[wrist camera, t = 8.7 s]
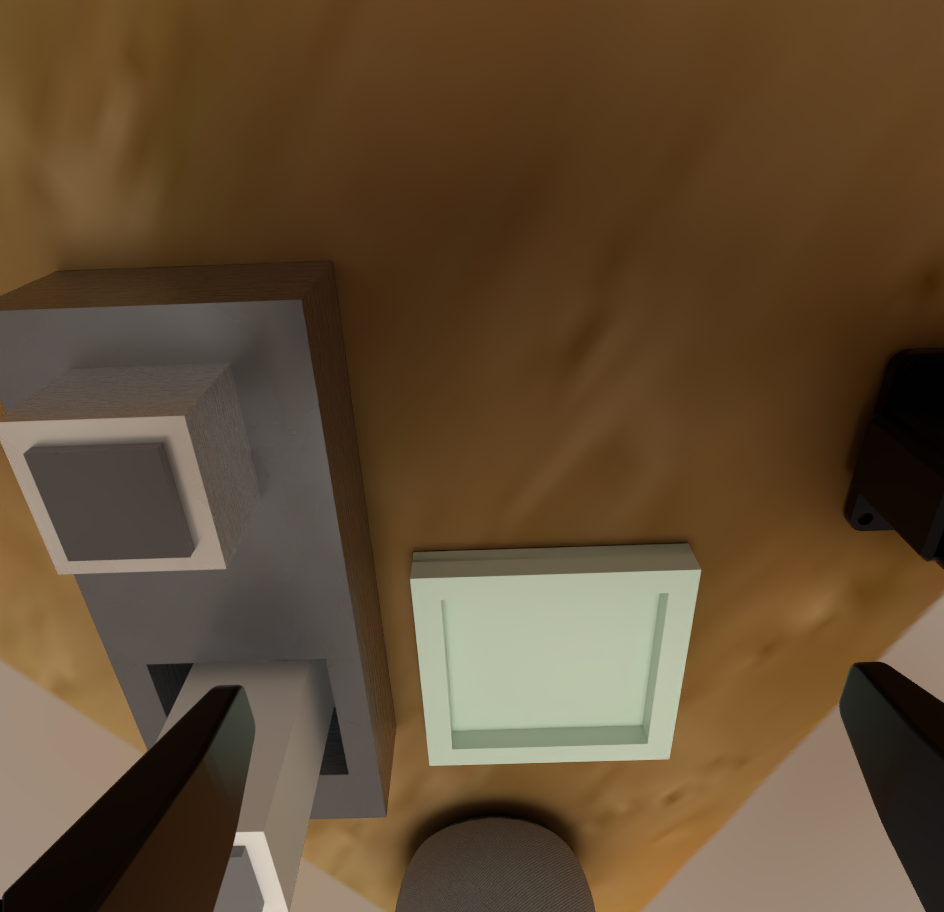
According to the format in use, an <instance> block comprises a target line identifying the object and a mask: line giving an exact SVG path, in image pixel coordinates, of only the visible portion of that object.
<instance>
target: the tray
mask: <svg viewBox="0 0 944 912" xmlns="http://www.w3.org/2000/svg"><path fill="white" fill-rule="evenodd" d="M700 574H701V568H700V566H699V564H698V562H697V560H696V558H695V556H694V554H693V552H692V550H691V548H690V545H689V543H683V544H652V545H621V546H590V547H559V548H528V549H497V550H466V551H434V552H413V559H412V567H411V576H410V582H411V592H412V602H413V611H414V621H415V630H416V640H417V649H418V659H419V669H420V678H421V688H422V697H423V707H424V716H425V726H426V736H427V745H428V755H429V764H430V766H441V765H476V764H512V763H548V762H584V761H619V760H655V759H669V758H670V752H671V746H672V740H673V734H674V728H675V722H676V716H677V710H678V705H679V699H680V693H681V687H682V681H683V675H684V669H685V663H686V657H687V651H688V645H689V639H690V633H691V628H692V622H693V616H694V610H695V604H696V598H697V592H698V586H699V580H700Z"/></svg>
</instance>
